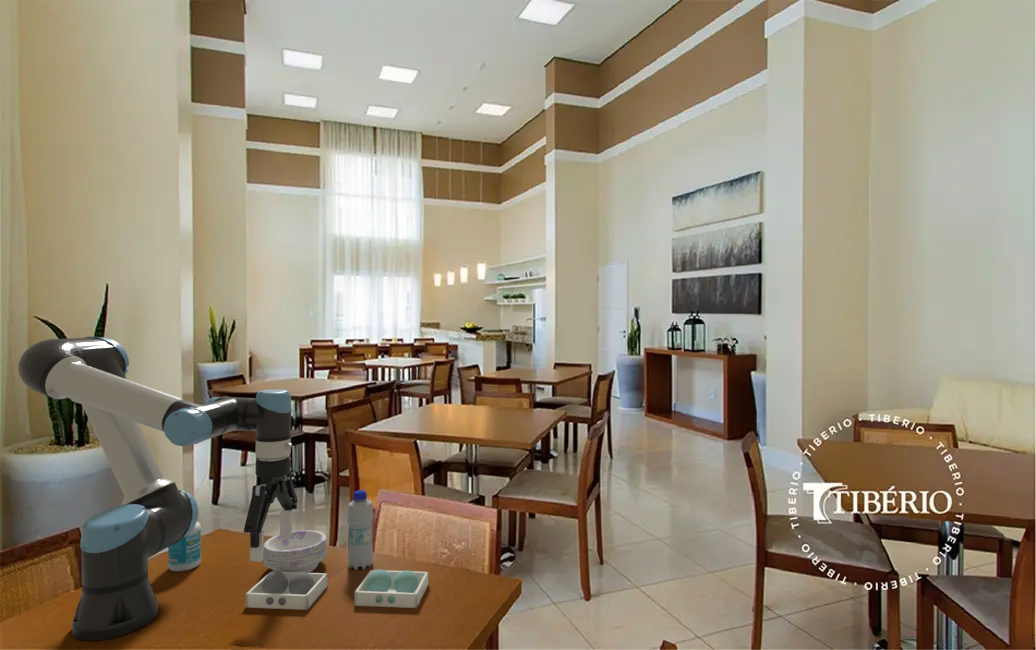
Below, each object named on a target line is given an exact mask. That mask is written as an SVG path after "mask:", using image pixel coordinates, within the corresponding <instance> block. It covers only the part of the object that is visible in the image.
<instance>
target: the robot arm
mask: <svg viewBox="0 0 1036 650" xmlns="http://www.w3.org/2000/svg"><path fill="white" fill-rule="evenodd" d="M129 359H130V358H129V356H128V353H127V351H126V349H125V348H124V347H123V346H122V345H121V344H120V343H119V342H117V341H116V340H115V339H111V338H108V337H103V336H102V337H101V336H100V337H99V336H85V337H72V338H69V337H68V338H49V339H45V340H41V341H38V342H36V343H34V344H32V345H30V346H29V347H28V348H27V349H25V350H24V351H23V353H22V355H21V357H20V358H19V361H18V365H17V370H18V371H17V372H18V374H19V378H20V379H21V380H22V382H23V383H24V385H26V387H28V388H29V389H31V390H33V391H34V392H36V393H39V394H40V395H43V396H46V397H49V398H52V399H55V400H64V399H70V400H71V402H75V403H77V404H81V406H82V408H83V409H84V412H85V414H86V416H87V418H88V420H89V422H90V425H91V427H92V429H93V431H94V434H95V435H96V437H97V439H98V443H99V444H100V447H101V448H102V451H103V453H104V455H105V457H106V460H107V461H108V463H109V466H110V467H111V470H112V472H113V474H114V476H115V478H116V481H117V482H118V485H119V487H120V490H121V491H122V493H123V496H124V498H123V500H122V502H121V504H120V505H116V506H114V507H109V508H106V509H104V510H101V511H99V512H97V513H95V514H93V515H92V516H90V517H89V518H88V519H86V520H85V522H84V523H83V525H82V527H81V535H80V537H81V538H80V541H79V546H80V558H81V559H80V561H81V596H80V598H79V601H78V604H77V607H76V609H75V614H74V616H73V619H72V623H71V631H72V632H71V634H72V636H73V637H74V638H75V639H77V640H79V641H81V640H82V641H87V642H88V641H91V642H93V641H104V640H109V639H113V638H117V637H121V636H124V635H128V634H130V633H132V632H134V631H137V630H139V629H141V628H143V627H145V626H146V625H148V624H149V623H151V622H152V621H153V620H155V618H156V617H157V615H158V614H159V601H158V598H157V596H156V595H155V594H154V590H153V588H152V585H151V583H150V580H149V559H150V558H151V557H152V556H154V555H156V554H159V553H160V552H162V551H164V550H166V549H167V548H168V547H169V546H171V545H173V544H175V543H177V542H179V541H181V540H182V539H183V538H184V537H186V536H187V535H188V534H189V533H190V532H191V531H192V530H193V529H194V527H195V525H196V522H198V520H199V506H198V503H197V500H196V498H195V497H194V496H193V495H192V494H191V493H190V492H187V491H185V490H182V489H179V488H178V486H177V484H176V482H175V481H174V480H171V479H167V478H166V477H165V476H164V474H163V472H162V470H161V467H160V465H159V464H158V461H157V459H156V457H155V454H154V453H153V450H152V448H151V445H150V444H149V442H148V440H147V437H146V435H145V433H144V430H143V429H142V427H141V425H144V426H146V427H150V428H151V429H155V430H158V431H160V432H163V433H164V435H165V437H166V439H168V441H170V443H171V444H173V445H175V446H179V447H186V446H191V445H192V446H193V445H196V444H197V445H198V444H200V443H202V442H204V441H207V440H210V439H212V438H215V437H218V436H221V435H224V434H227V433H231V432H233V431H244V432H246V431H248V432H255V457H256V459H255V464H254V465H255V468H254V470H255V471H254V472H255V476H257V477H259V478H260V479H261V480H260V485H253V486H252V489H251V498H250V499H251V500H250V502H249V506H248V511H247V515H246V520H245V523H244V526H243V527H244V528H243V533H244V534H246V533H247V534H249V561H250V562H264V544H265V539H264V538H265V532H264V530H263V528H264V524H265V521H266V519H267V516H268V512H269V509H270V506H271V504H274V501H275V499H277V501H278V503H279V504H280V506H281V508H282V509H281V510H280V512H279V516H280V517H279V535H280V537H288V538H291V537H292V532H293V510H297V508H298V505H297V504H298V497H297V493H296V490H295V485H294V482H293V474H292V473H293V472H292V470H291V469H292V468H291V464H292V463H291V462H292V461H291V460H292V459H291V456H290V455H291V452H292V451H291V449H292V446H293V444H292V442H291V441H292V440H291V439H292V433H291V432H292V411H293V408H292V395H291V392H289V390H286V389H281V388H279V389H271V388H270V389H269V388H268V389H263V390H259V391H257V393H256V396H255V397H254V398H253V397H233V396H214V397H211V398H209V399H208V400H207V401H206V402H205V403H203V404H202V403H201V404H198V403H194V402H192V401H188V400H186V399H183V398H180V397H178V396H175V395H173V394H169V393H166V392H164V391H160V390H158V389H156V388H152V387H149V386H146V385H144V384H141V383H139V382H135V381H134V380H133V381H132V380H130V379H127V377H126V375H127V373H128V370H129V368H128V366H130V360H129Z"/></svg>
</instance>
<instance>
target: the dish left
mask: <svg viewBox="0 0 1036 650" xmlns="http://www.w3.org/2000/svg"><path fill="white" fill-rule="evenodd" d="M271 572H272V571H270V572H269V573H267V574H266V575H265V576H264V577H263V578H262V579H260V581H258V582H257V583H256V584H255V585H253V586H252V588H250V589H249V590H248V591H247V592H246V593H245V608H251V609H252V608H253V609H254V608H255V609H279V610H280V609H281V610H302V611H303V610H306V611H308V609H310V607H311V606H312V605H313V604H314V603H315V602H316V600H317V599H318V598H319V597H320V596H321V595H322V593H323V592H324V591H325V590H326V589H327V588H328V586H329V585H328V584H329V579H328V578H329V577H328V575H329V573H326V572H325V573H323V572H309V574H310V575H311V576H312V577H313V579H314V586H313V587H312V588H311V589H310V591H309V592H308V593H307V594H306V595H301V594H291V593H290V591H289V582H290V580H291V578H292V577H293V576H294V575H295V574H297V573H299V572H283V573H284V574H285V575H286V576H287V578H288V586H287V589H286V590H285V591H284V593H282V594H272V593H264V591H263V587H262V586H263V581H264V579H265V577H266V576H267V575H268V574H270V573H271Z"/></svg>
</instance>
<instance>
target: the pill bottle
mask: <svg viewBox="0 0 1036 650" xmlns="http://www.w3.org/2000/svg"><path fill="white" fill-rule="evenodd" d="M201 526H202V525H201V523H200V522H199V521H197V522H196V525H195V527H194V529H193V530H192V531H191V532H190V533H189V534H188V535H187V536H186V537H184V538H183V539H182V540H181V541H179V542H177V543H175V544H173V545H171V546H169V547H167V548H168V549H167V554H168V555H167V556H168V557H167V559H168V560H167V562H168V563H167V564H168V565H167V567H168V569H169V570H170V571H172V572H185V571H189V570H192V569H195V568H197V567H198V566H199V565H201V562H202V543H201V542H202V533H201V532H202V528H201Z"/></svg>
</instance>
